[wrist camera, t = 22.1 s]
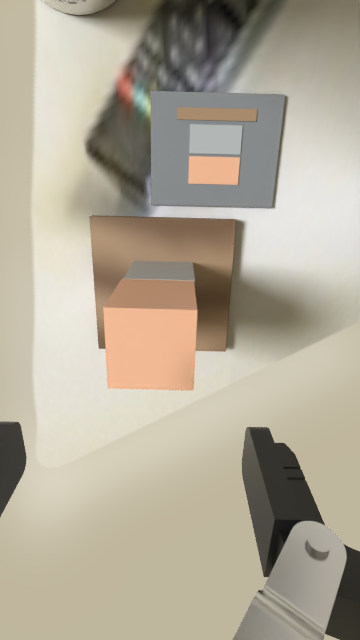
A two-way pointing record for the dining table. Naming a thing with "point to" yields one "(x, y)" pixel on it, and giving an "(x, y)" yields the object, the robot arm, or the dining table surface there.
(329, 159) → the dining table surface
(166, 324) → the peach orange block
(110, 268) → the walnut base plate
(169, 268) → the slate brick
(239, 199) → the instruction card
